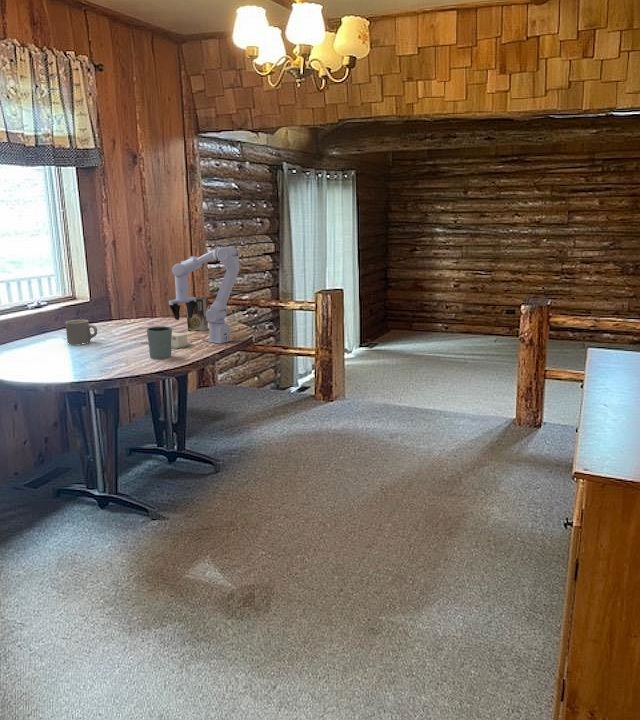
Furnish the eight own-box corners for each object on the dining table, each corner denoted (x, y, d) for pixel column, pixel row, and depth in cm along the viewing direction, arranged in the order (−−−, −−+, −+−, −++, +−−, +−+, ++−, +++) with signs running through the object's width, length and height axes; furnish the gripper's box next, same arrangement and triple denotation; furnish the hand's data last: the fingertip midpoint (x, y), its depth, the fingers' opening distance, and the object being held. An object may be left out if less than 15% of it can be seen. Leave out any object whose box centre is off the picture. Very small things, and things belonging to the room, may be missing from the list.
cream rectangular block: (187, 345, 284) (186, 334, 283) (178, 347, 280) (177, 336, 279) (173, 342, 290) (172, 331, 289) (164, 344, 286) (163, 333, 285)
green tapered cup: (152, 354, 269) (150, 326, 266) (176, 354, 268) (174, 326, 266) (145, 359, 259) (143, 330, 256) (170, 359, 259) (168, 330, 256)
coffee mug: (63, 345, 290) (61, 323, 288) (73, 340, 299) (71, 319, 297) (92, 345, 289) (90, 323, 287) (101, 340, 299) (99, 319, 296)
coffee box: (208, 328, 326) (206, 297, 322) (204, 331, 319) (203, 299, 316) (191, 328, 326) (189, 297, 323) (187, 331, 320) (185, 299, 317)
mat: (193, 345, 286) (193, 344, 286) (174, 349, 277) (174, 348, 277) (160, 339, 300) (160, 338, 300) (141, 343, 292) (140, 342, 292)
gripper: (188, 287, 302) (190, 315, 305) (163, 290, 291) (165, 319, 294) (198, 288, 297) (200, 317, 301) (173, 291, 286) (175, 321, 290)
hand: (183, 318), depth 297 cm, fingers open, 7 cm apart
